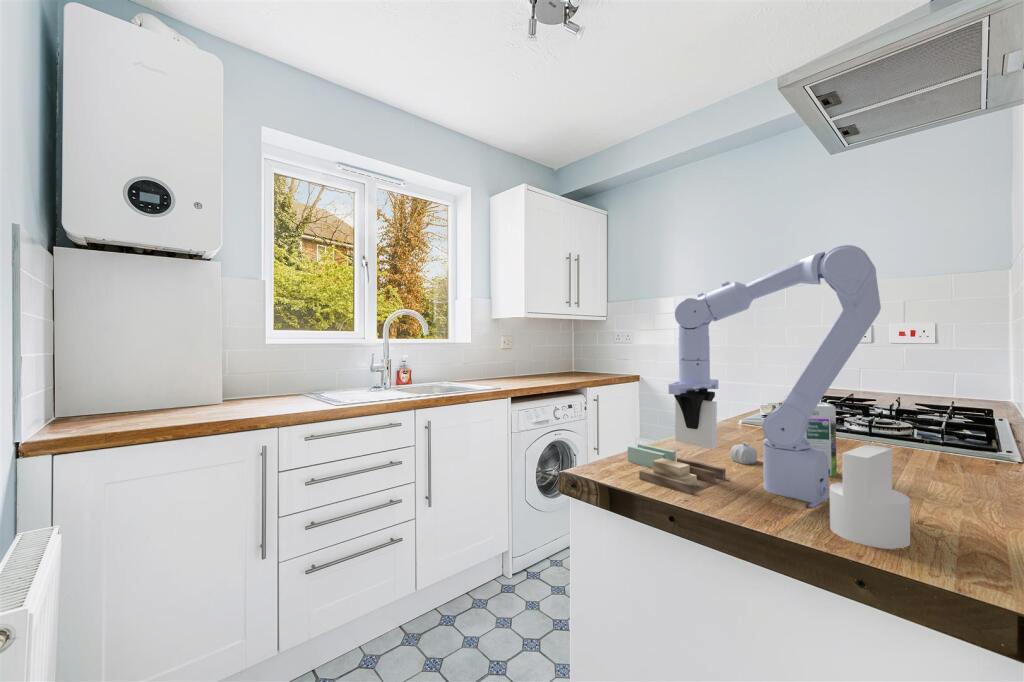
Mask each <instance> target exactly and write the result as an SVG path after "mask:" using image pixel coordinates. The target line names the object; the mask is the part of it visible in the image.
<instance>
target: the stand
mask: <svg viewBox="0 0 1024 682" xmlns="http://www.w3.org/2000/svg"><path fill="white" fill-rule="evenodd" d="M676 453H677V452H676V450H673V449H672V450H671V449H668V448H663V447H659V446H654V445H649V444H645V443H638V444H637V446H634V445H629V446H627V462H629V463H633V464H635V465H636V464H637V465H639V466H643V467H648V468H652V469H653V461H654V460H657V459H661V458H663V459H667V460H672V461H676V462H677V458H676V457H677V456H676Z"/></svg>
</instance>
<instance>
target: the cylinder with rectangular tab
mask: <svg viewBox="0 0 1024 682" xmlns="http://www.w3.org/2000/svg"><path fill="white" fill-rule="evenodd" d="M841 459H842V460H841V461H842V462H841V463H842V464H841V465H842V473H841V474H842V482H836V483H831V484H830V485H829V495H830V498H829V529H830V531H832V533H834V534H835V535H837V536H838V537H840V538H842V539H844V540H847V541H850V542H852V543H856V544H860V545H863V546H868V547H872V548H877V549H886V550H897V549H896V548H902V549H905V548H904V547H906V548H908V547H907V546H909V547H910V545H911V499H910V497H908V496H907V495H906V494H904V493H902V492H900V491H897V490H895V489H893V448H891V447H886V446H881V445H874V444H864V445H862V446H859V447H856V448H852V449H850V450H847V451H844V452H842V457H841ZM894 548H895V549H894Z"/></svg>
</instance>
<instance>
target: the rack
mask: <svg viewBox="0 0 1024 682" xmlns="http://www.w3.org/2000/svg"><path fill="white" fill-rule="evenodd" d="M676 462H680V463H684V464H688V465H690V474H694V475H697V485H695V486H694V484H691V483H687V482H684V481H680V480H677V479H673V478H669V477H666V476H662V475H659V474H655V473H653V472H651V471H648V470H644V469H641V470H639V477H638V478H639V480H643V481H646V482H649V483H653V484H655V485H658V486H661V487H666V488H667V489H668V488H669V489H672V490H676V491H679V492H681V493H685V494H689V495H692V494H695V493H697V492H700V491H703V490H705V489H708V488H710V487H713V486H716V485H718V484H720V483H724V482H726V481H729V480H731V479H732V477H728V476H727V475H726V473H727V472H726V468H724V467H720V466H716V465H711V464H708V463H703V462H699V461H695V460H689V459H686V458H682V457H678V458H676Z"/></svg>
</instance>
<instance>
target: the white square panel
mask: <svg viewBox="0 0 1024 682" xmlns="http://www.w3.org/2000/svg"><path fill="white" fill-rule="evenodd" d="M674 398H675V397H674ZM674 405H675V409H674V410H675V412H674V413H675V420H674V421H675V426H674V427H675V430H674V431H675V432H674V433H675V442H678V443H682V444H686V445H691V446H696V447H701V448H705V449H710V450H714V449H717V446H718V445H717V443H718V442H717V439H718V438H717V431H718V430H717V427H718V426H717V419H718V418H717V417H718V413H717V412H718V411H717V410H718V409H717V401H713V400H712V401H706V400H703V402H702V405H701V408H700V415H699V425H698V429H691V428H687V427H686V424H685V420H684V416H683V413H682V410H681V408H680V405H679V403H678V402H677V400H676V398H675V404H674Z"/></svg>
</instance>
